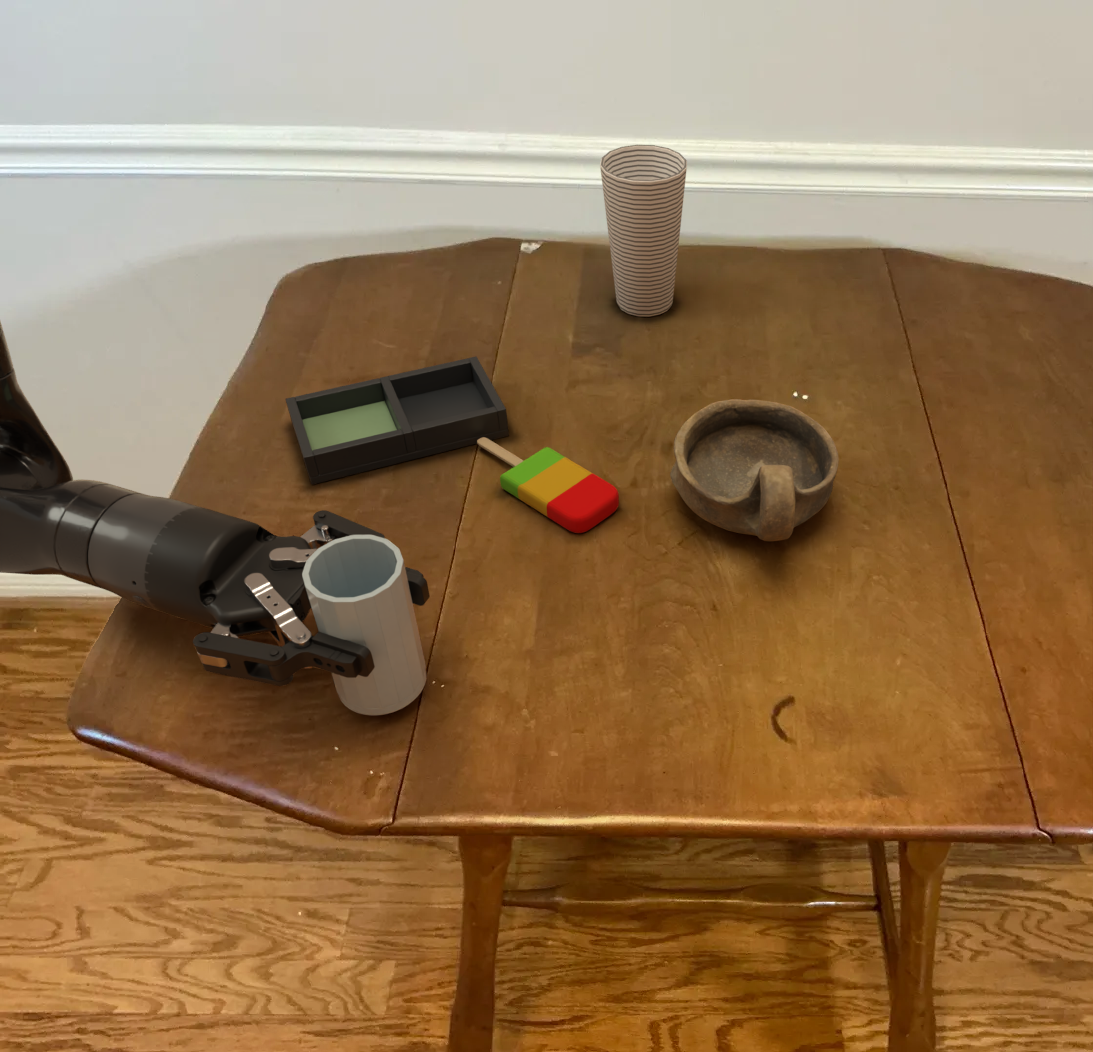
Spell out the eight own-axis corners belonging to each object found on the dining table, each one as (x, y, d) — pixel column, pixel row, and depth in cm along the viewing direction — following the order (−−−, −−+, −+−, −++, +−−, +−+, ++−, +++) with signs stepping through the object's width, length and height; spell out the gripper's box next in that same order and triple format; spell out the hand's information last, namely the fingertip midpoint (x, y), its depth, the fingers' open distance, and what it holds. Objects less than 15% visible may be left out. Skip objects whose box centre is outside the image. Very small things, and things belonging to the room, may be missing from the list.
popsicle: (579, 540, 87) (578, 523, 86) (456, 462, 94) (454, 445, 92) (625, 506, 90) (625, 489, 89) (503, 433, 97) (502, 417, 96)
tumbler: (347, 727, 71) (312, 613, 64) (329, 663, 75) (294, 549, 68) (436, 698, 73) (413, 584, 66) (414, 638, 77) (390, 524, 70)
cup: (616, 278, 118) (612, 140, 108) (691, 288, 117) (695, 149, 106) (595, 318, 112) (589, 175, 101) (675, 328, 111) (677, 185, 100)
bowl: (816, 448, 97) (828, 354, 90) (855, 587, 84) (872, 490, 77) (664, 453, 95) (665, 359, 89) (679, 595, 83) (681, 497, 76)
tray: (311, 485, 91) (303, 457, 89) (292, 425, 97) (285, 398, 95) (509, 436, 97) (506, 408, 95) (480, 382, 103) (476, 356, 101)
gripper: (85, 591, 65) (321, 668, 61) (237, 455, 75) (448, 514, 72) (125, 671, 70) (346, 747, 66) (262, 534, 81) (461, 593, 77)
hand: (398, 626), depth 69 cm, fingers closed on tumbler, 6 cm apart
